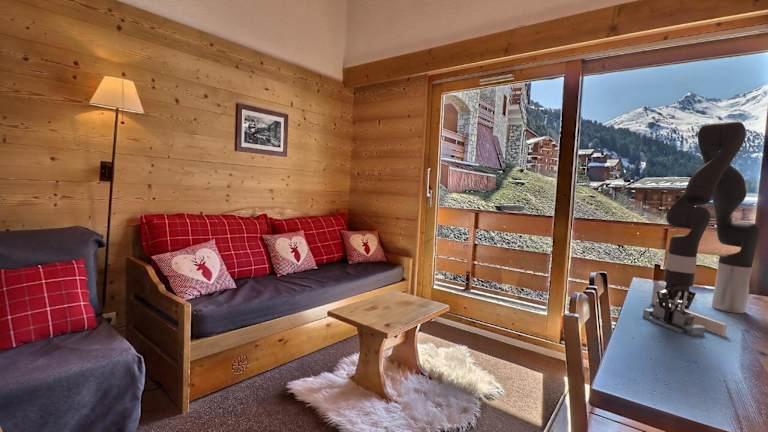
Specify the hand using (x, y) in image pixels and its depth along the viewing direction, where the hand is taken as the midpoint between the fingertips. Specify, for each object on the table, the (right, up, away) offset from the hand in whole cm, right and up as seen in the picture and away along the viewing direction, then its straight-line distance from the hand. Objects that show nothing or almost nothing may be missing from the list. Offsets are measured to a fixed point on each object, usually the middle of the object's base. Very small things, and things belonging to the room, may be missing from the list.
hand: (672, 321), depth 122 cm
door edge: (+9, -1, +3) cm, 9 cm away
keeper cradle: (0, -1, 0) cm, 1 cm away
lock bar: (0, 0, +1) cm, 1 cm away
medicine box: (+10, 0, +19) cm, 21 cm away
